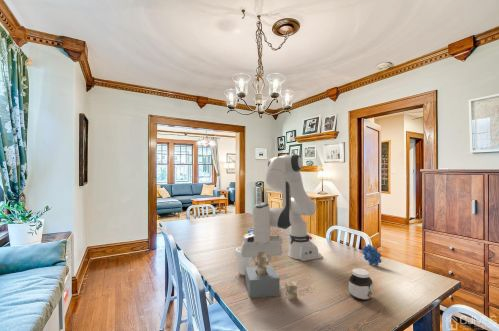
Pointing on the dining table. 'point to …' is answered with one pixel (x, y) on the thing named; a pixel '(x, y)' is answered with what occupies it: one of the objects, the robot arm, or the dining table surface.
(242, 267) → the foam cup
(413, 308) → the dining table surface
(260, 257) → the long pin
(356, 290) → the spread jar
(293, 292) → the short pin
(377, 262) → the grapes
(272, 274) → the hole block
